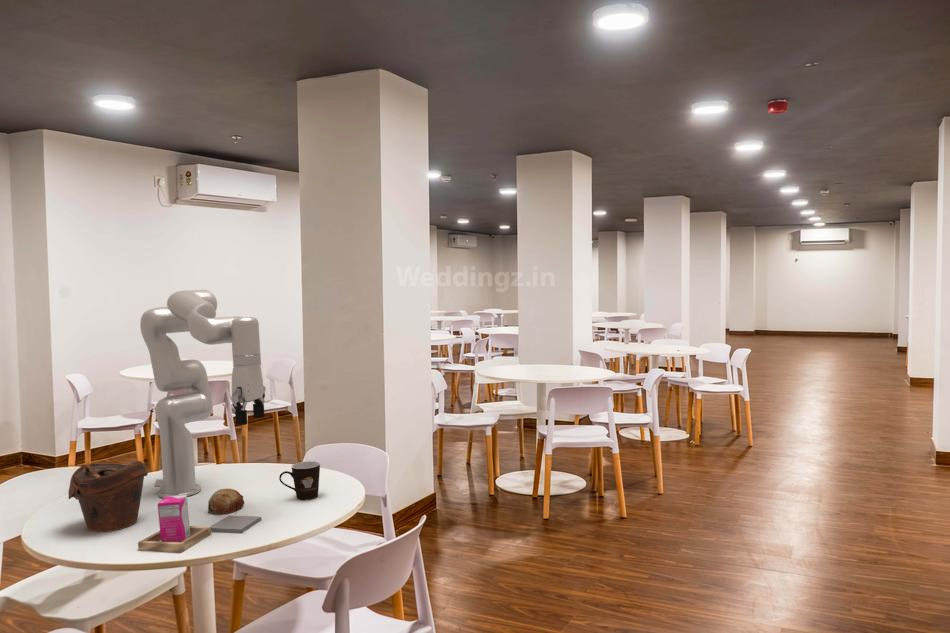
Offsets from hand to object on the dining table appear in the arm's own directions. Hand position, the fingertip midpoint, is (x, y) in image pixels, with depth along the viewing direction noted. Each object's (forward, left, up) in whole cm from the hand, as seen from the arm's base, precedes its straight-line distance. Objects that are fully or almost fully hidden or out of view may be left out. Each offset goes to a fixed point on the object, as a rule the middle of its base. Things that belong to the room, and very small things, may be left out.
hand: (250, 421), depth 197 cm
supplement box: (-10, -22, -27) cm, 36 cm away
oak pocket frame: (-10, -22, -27) cm, 36 cm away
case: (-38, -12, -28) cm, 49 cm away
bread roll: (-12, +4, -28) cm, 30 cm away
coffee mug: (+6, +17, -27) cm, 33 cm away
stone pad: (-1, -9, -27) cm, 29 cm away
